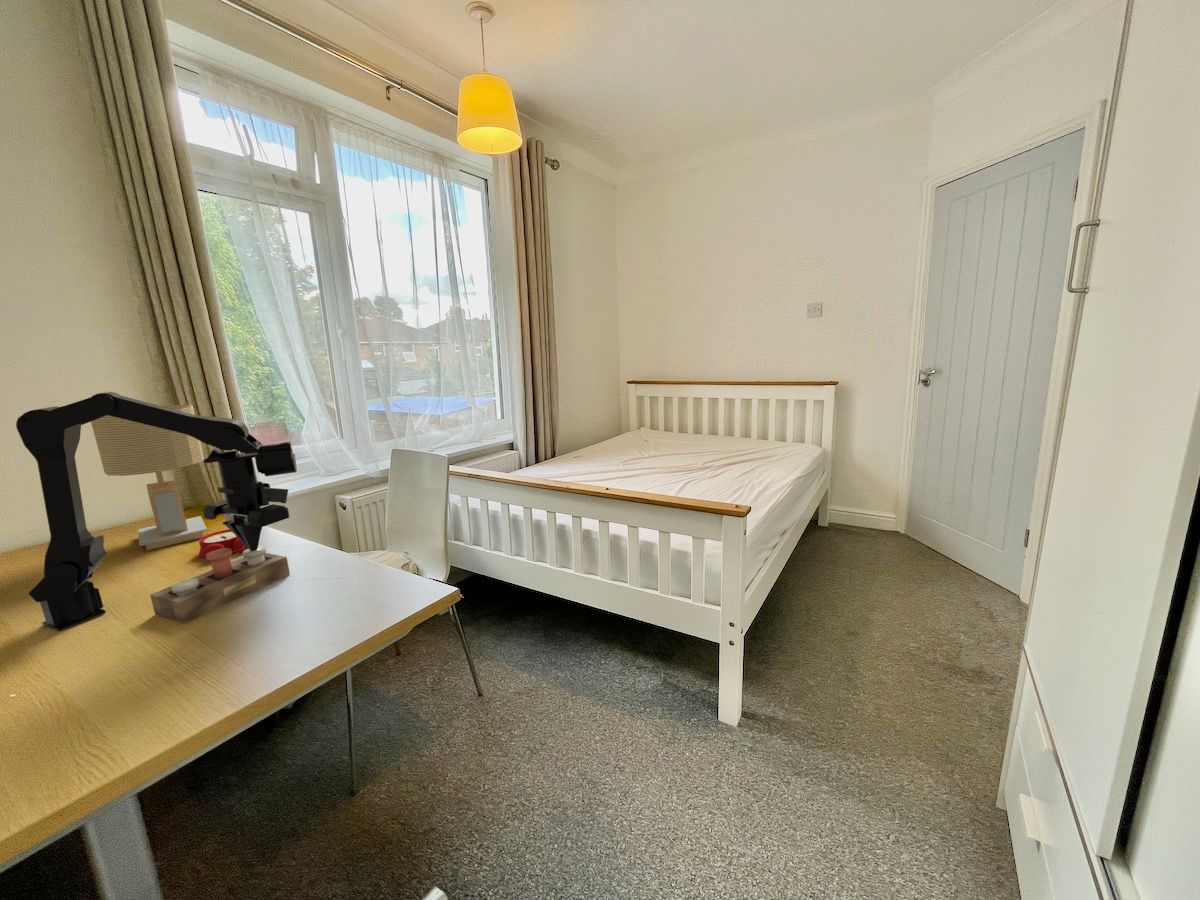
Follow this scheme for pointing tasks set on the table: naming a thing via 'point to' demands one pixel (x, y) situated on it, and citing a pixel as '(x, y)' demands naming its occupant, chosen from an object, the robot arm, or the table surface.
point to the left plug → (185, 587)
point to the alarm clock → (220, 543)
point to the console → (219, 588)
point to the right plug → (255, 556)
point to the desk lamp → (152, 471)
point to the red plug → (220, 562)
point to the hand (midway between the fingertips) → (253, 550)
